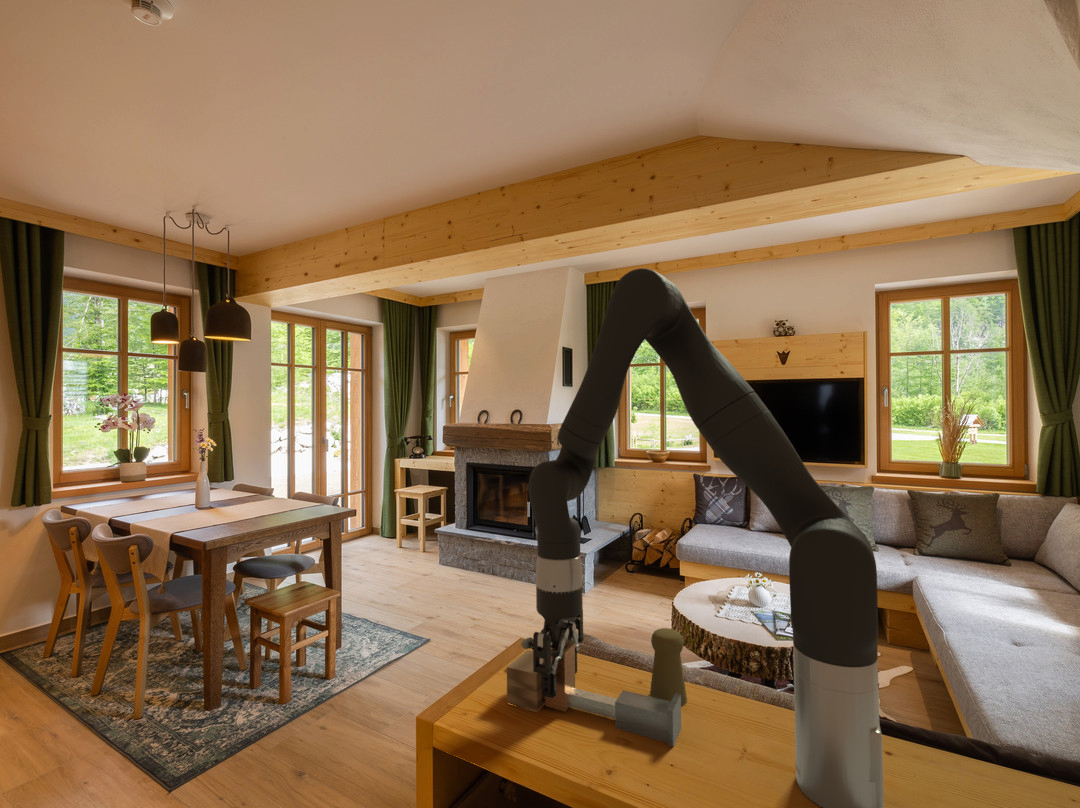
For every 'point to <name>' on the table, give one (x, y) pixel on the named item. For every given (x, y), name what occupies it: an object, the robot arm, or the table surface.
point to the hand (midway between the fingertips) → (560, 684)
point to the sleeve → (649, 716)
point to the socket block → (524, 683)
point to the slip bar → (573, 696)
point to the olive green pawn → (667, 666)
